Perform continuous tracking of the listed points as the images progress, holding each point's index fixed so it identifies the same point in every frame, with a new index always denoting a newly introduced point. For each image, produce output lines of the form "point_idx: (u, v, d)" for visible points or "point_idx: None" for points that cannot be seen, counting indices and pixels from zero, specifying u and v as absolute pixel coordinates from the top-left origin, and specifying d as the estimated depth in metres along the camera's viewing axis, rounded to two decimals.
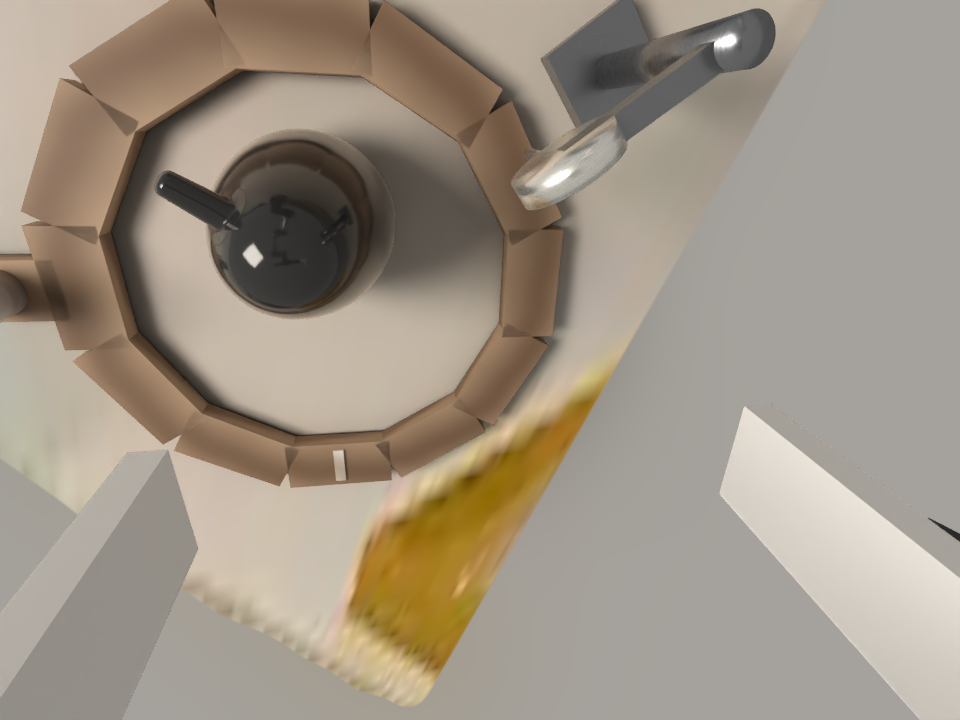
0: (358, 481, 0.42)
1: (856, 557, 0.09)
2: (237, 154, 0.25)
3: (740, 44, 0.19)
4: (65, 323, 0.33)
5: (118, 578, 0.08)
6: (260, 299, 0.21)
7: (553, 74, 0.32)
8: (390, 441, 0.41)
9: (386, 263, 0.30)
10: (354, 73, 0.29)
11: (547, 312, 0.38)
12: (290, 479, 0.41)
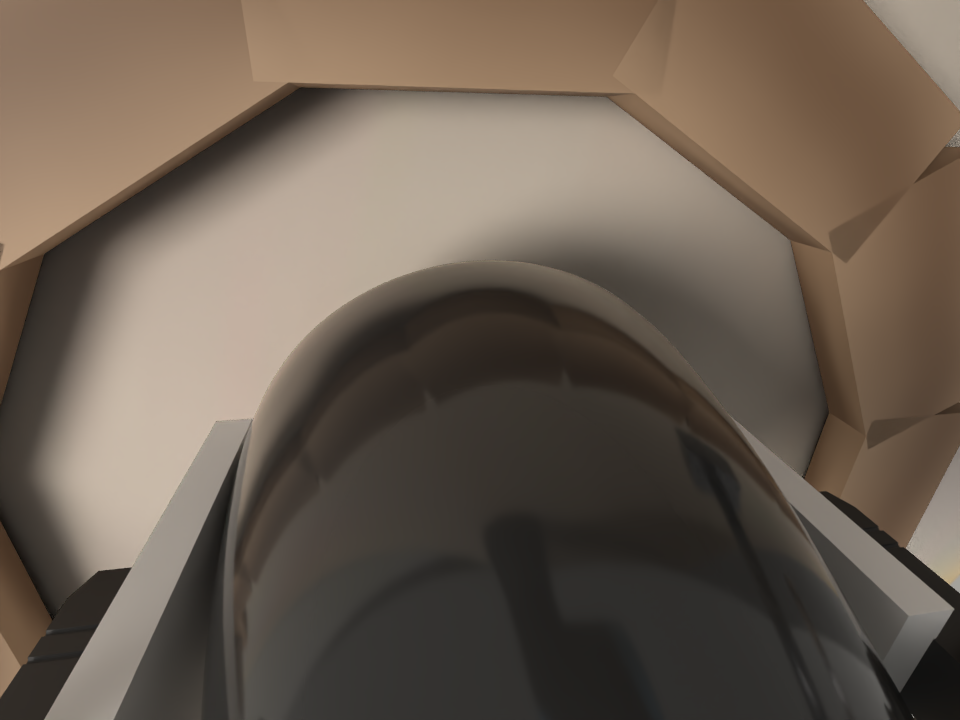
0: None
1: None
2: (322, 437, 0.06)
3: None
4: None
5: None
6: None
7: None
8: None
9: None
10: (617, 88, 0.10)
11: None
12: None
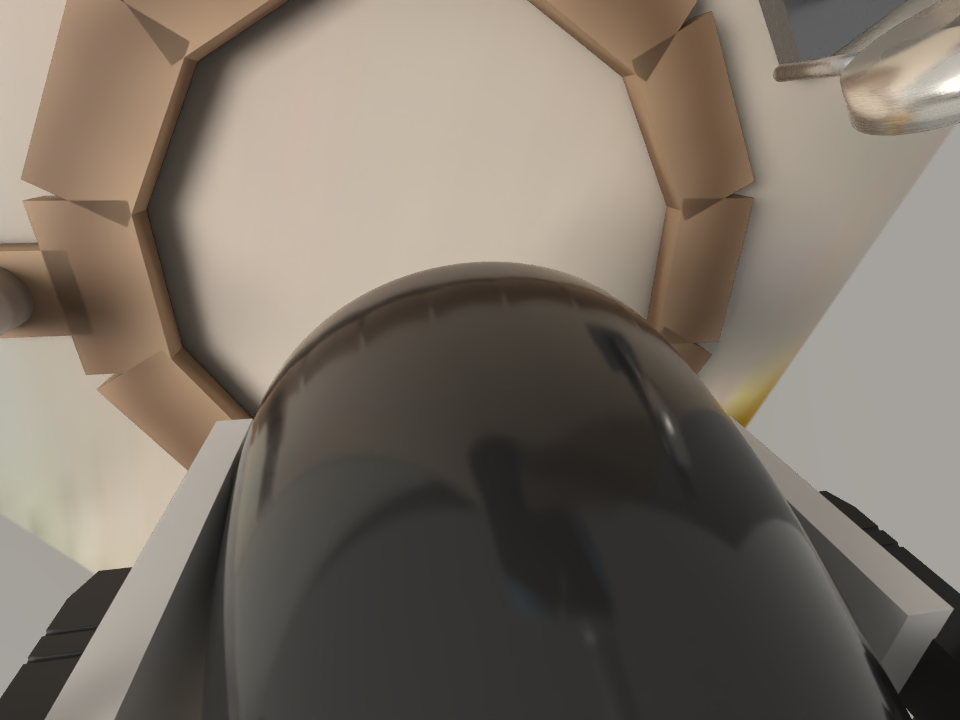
0: None
1: None
2: (322, 439, 0.06)
3: None
4: (85, 338, 0.24)
5: None
6: None
7: None
8: None
9: None
10: None
11: (717, 311, 0.29)
12: None
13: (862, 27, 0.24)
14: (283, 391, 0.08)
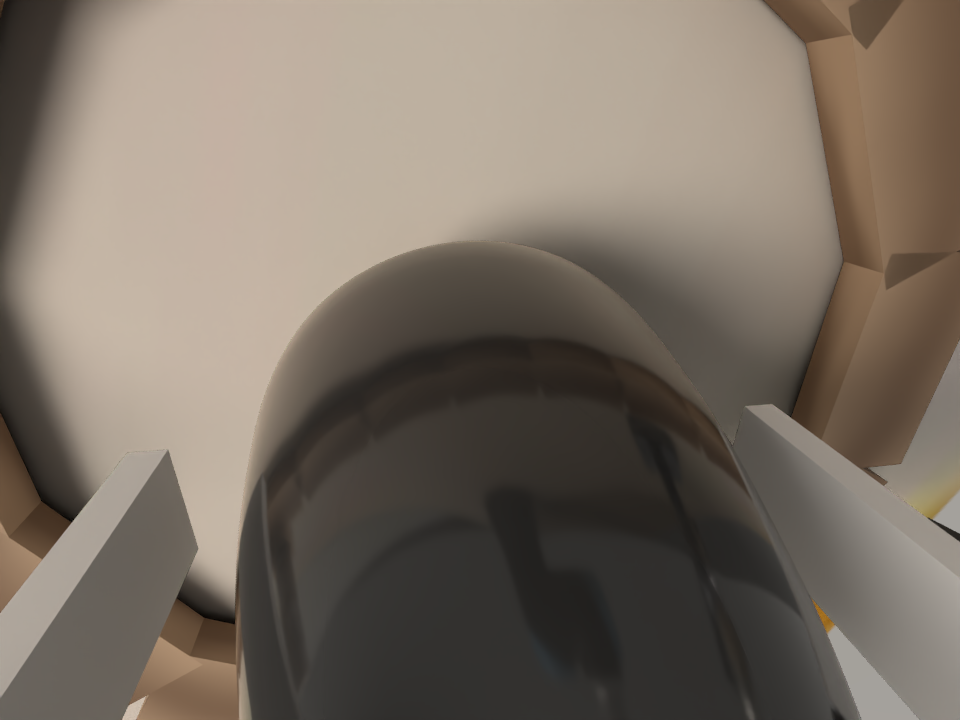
0: None
1: (856, 557, 0.09)
2: (334, 378, 0.08)
3: None
4: None
5: (118, 578, 0.08)
6: None
7: None
8: None
9: None
10: None
11: (908, 422, 0.18)
12: None
13: None
14: (298, 349, 0.09)
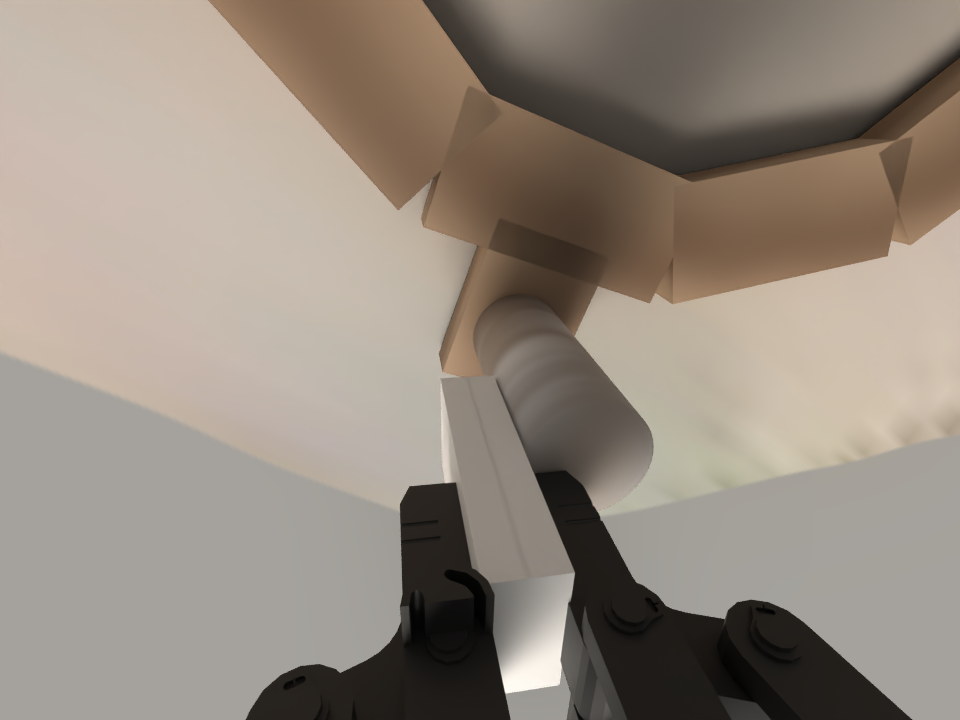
0: None
1: None
2: None
3: None
4: (610, 271, 0.17)
5: None
6: None
7: None
8: None
9: None
10: None
11: None
12: None
13: None
14: None
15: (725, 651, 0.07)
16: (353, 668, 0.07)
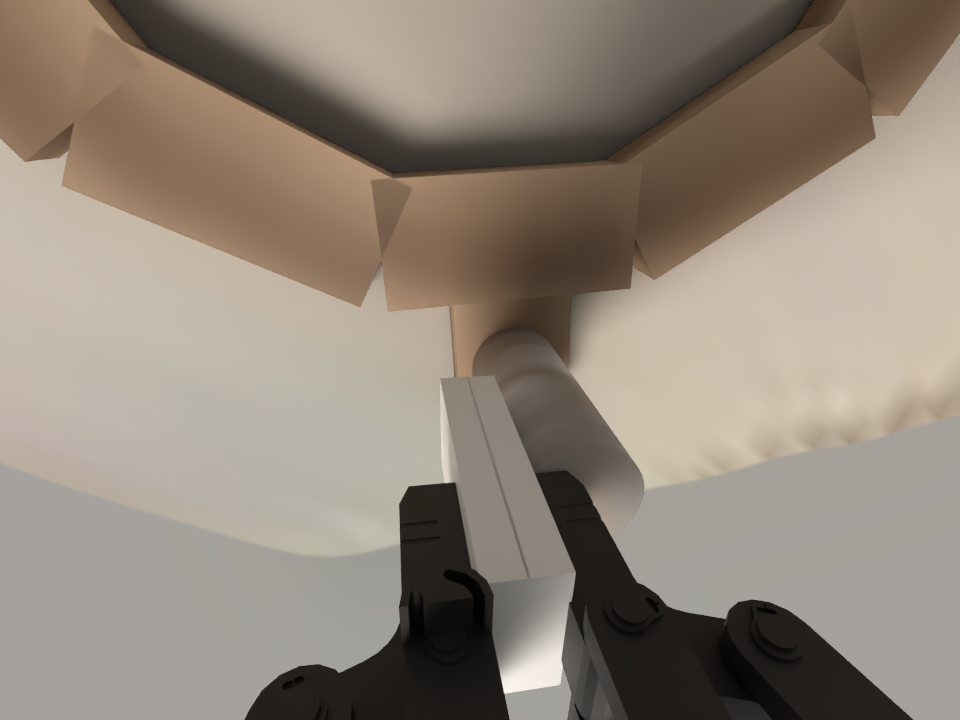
0: None
1: None
2: None
3: None
4: (577, 277, 0.16)
5: None
6: None
7: None
8: None
9: None
10: None
11: None
12: None
13: None
14: None
15: (725, 651, 0.07)
16: (352, 668, 0.07)
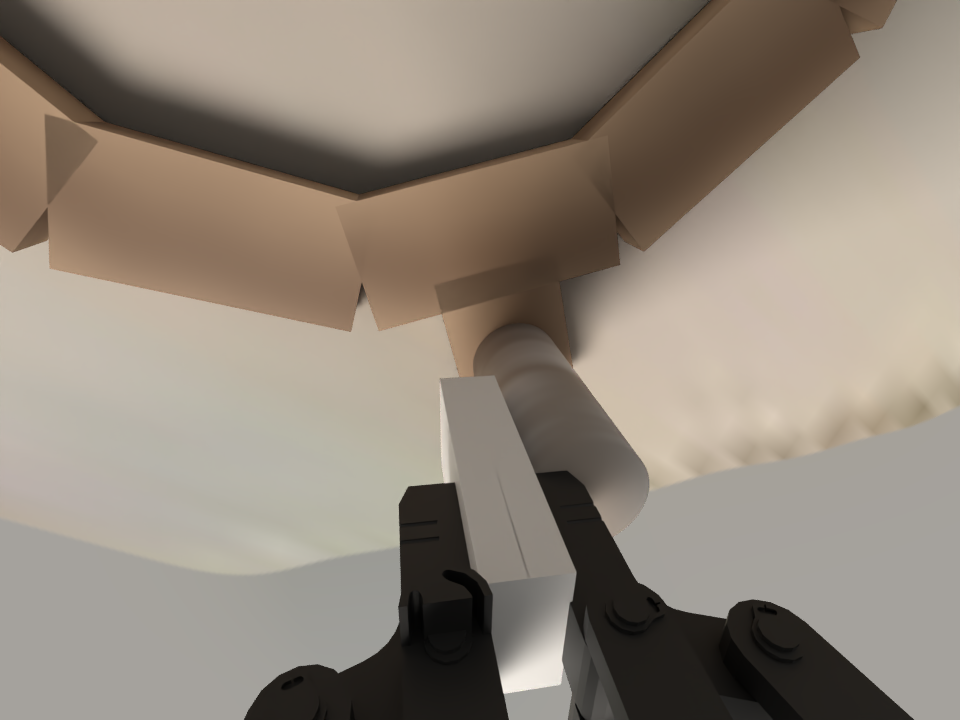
0: None
1: None
2: None
3: None
4: (562, 263, 0.16)
5: None
6: None
7: None
8: None
9: None
10: None
11: None
12: None
13: None
14: None
15: (726, 651, 0.07)
16: (352, 668, 0.07)
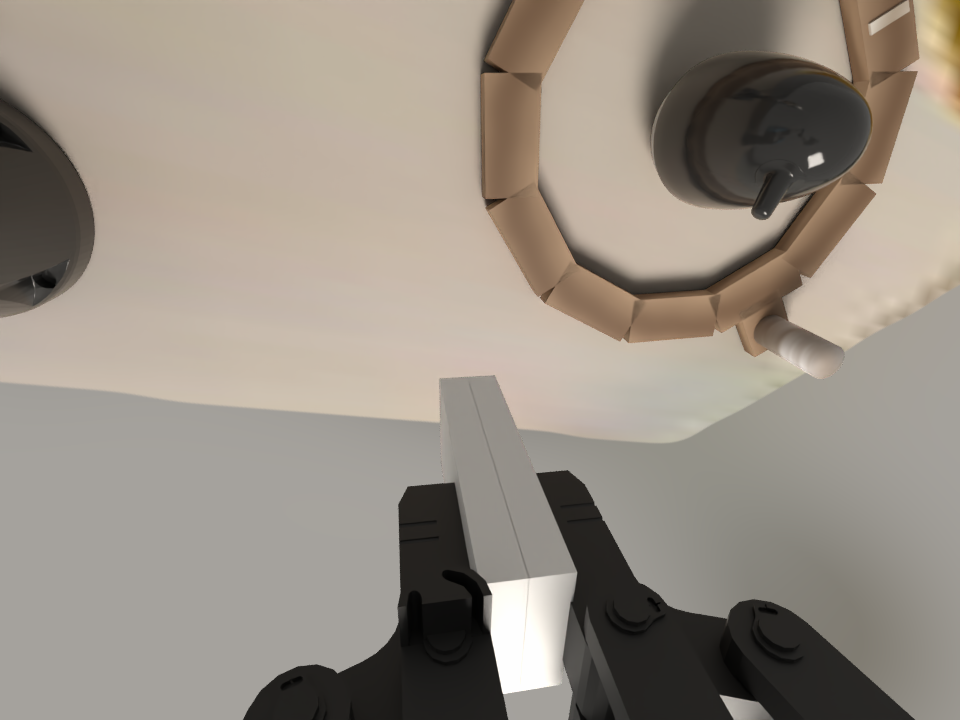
0: None
1: None
2: (691, 179, 0.33)
3: None
4: (782, 291, 0.45)
5: None
6: (860, 155, 0.27)
7: None
8: None
9: None
10: (539, 193, 0.38)
11: None
12: (909, 63, 0.38)
13: None
14: (678, 189, 0.36)
15: (726, 650, 0.07)
16: (351, 668, 0.07)
